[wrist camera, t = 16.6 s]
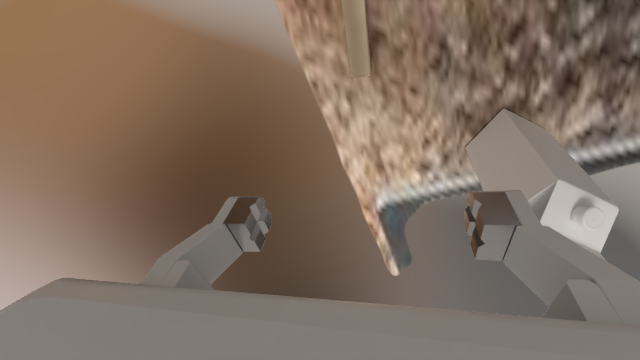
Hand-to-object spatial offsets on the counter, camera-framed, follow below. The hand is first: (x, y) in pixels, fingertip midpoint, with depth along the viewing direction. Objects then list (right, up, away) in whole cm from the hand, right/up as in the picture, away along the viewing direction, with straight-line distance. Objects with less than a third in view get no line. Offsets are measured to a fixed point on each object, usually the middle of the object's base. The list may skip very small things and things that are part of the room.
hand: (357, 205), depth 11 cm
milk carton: (+25, +7, +27) cm, 38 cm away
